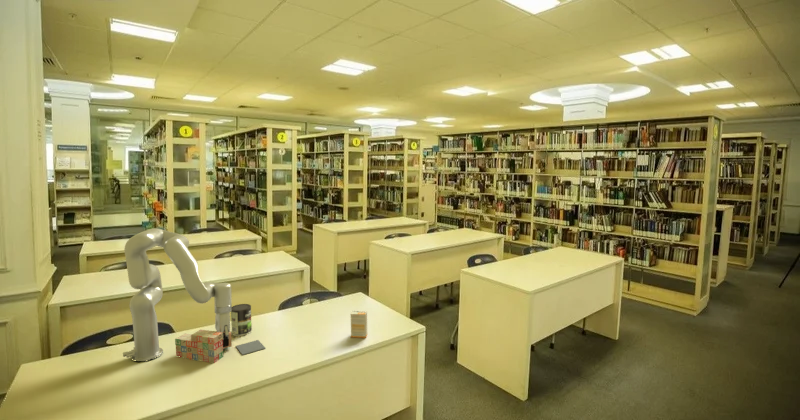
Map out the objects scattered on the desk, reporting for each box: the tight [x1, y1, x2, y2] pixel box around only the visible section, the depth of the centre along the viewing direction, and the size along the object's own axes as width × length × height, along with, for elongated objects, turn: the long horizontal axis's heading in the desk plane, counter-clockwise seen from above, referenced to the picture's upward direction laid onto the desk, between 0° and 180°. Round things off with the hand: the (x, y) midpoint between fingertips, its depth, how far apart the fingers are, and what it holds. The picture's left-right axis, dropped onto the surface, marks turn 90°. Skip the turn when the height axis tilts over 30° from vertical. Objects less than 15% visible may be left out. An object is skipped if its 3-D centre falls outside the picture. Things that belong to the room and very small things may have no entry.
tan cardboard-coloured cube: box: [223, 331, 233, 349], centre depth 187 cm, size 6×6×7 cm
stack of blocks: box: [174, 329, 224, 364], centre depth 179 cm, size 21×6×12 cm, turn 76°
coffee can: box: [230, 303, 253, 337], centre depth 206 cm, size 10×10×14 cm
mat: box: [235, 339, 266, 356], centre depth 189 cm, size 11×11×1 cm
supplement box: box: [350, 310, 368, 339], centre depth 203 cm, size 8×5×13 cm, turn 84°
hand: (223, 343), depth 187 cm, fingers closed on tan cardboard-coloured cube, 6 cm apart
